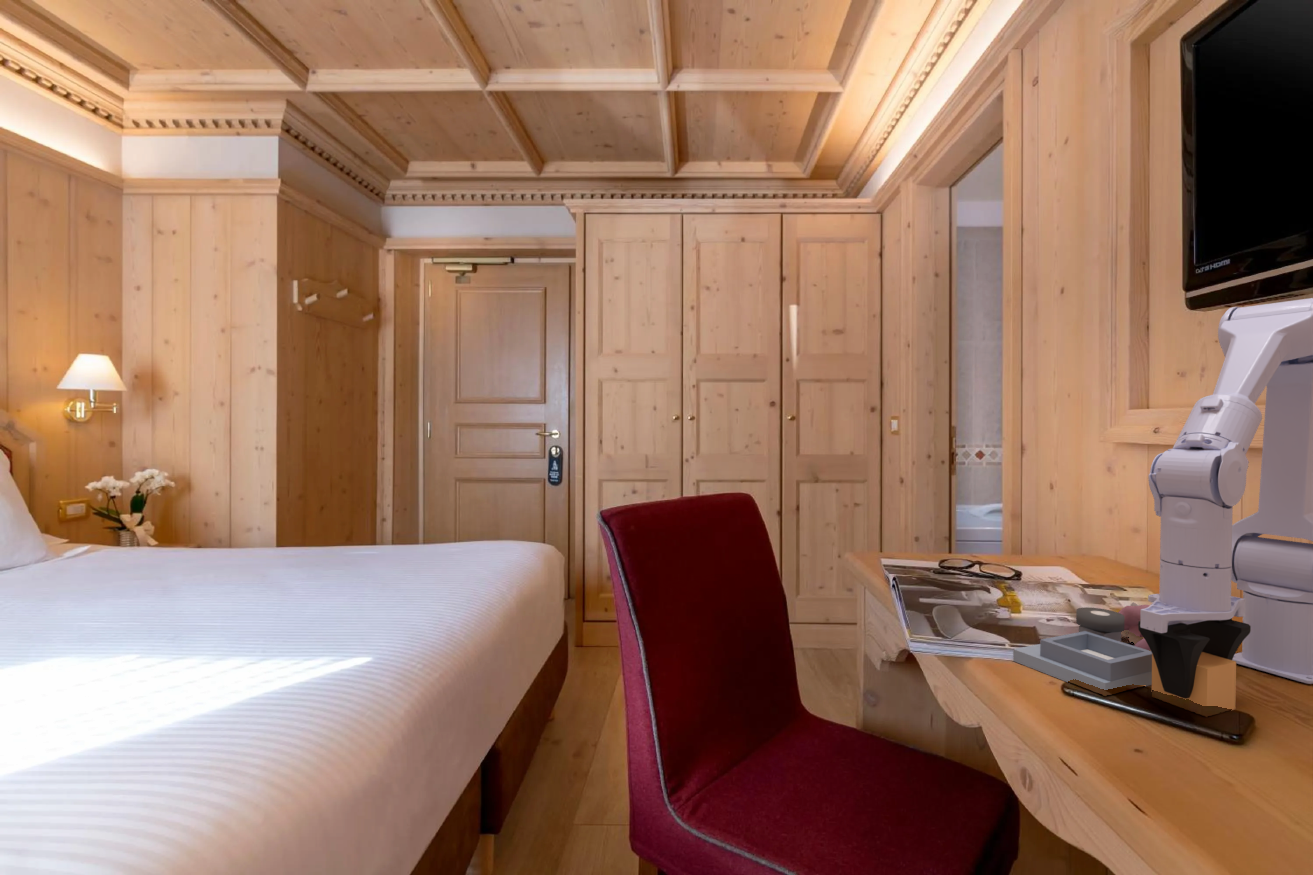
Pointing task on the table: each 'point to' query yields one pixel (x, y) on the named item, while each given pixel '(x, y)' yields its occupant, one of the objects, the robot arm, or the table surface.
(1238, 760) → the table surface
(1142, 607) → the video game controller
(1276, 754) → the table surface
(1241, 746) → the table surface
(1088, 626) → the wheel
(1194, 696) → the orange cube
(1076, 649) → the chassis
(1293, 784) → the table surface
